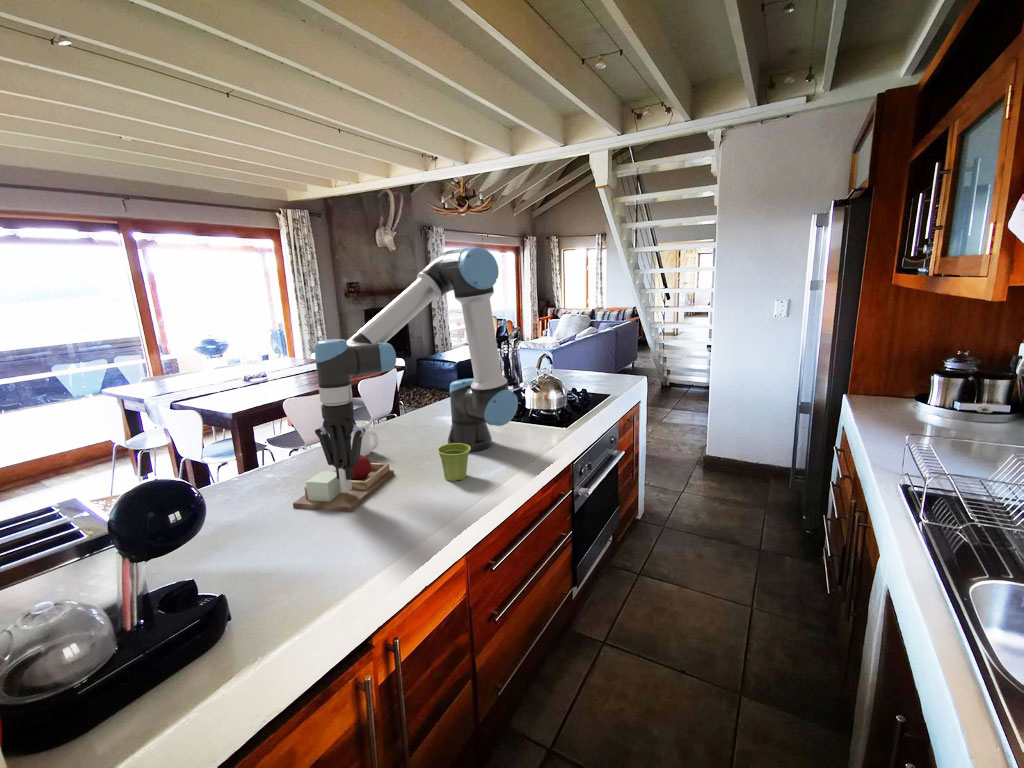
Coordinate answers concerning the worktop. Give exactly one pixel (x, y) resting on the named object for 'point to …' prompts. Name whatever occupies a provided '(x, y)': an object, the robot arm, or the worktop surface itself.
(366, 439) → the mug
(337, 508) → the housing base
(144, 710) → the worktop surface
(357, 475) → the tomato
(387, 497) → the worktop surface
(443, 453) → the plant pot
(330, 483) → the block
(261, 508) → the worktop surface
